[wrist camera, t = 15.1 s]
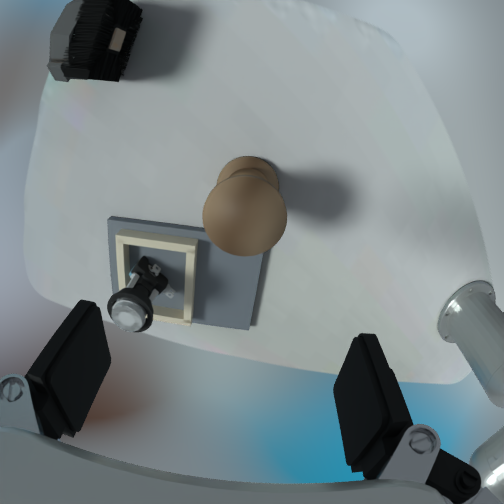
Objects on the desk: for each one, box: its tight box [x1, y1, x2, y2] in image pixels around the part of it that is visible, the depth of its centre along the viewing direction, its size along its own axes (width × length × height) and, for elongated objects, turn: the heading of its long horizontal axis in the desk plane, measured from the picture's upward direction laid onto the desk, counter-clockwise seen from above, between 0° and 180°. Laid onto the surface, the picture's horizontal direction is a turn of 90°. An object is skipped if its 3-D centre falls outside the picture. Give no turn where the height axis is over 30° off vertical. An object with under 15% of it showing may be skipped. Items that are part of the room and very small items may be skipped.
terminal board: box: [107, 216, 263, 330], centre depth 40 cm, size 20×14×3 cm
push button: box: [107, 256, 176, 332], centre depth 35 cm, size 7×5×10 cm
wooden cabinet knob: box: [203, 156, 287, 257], centre depth 31 cm, size 7×7×11 cm
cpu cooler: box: [47, 0, 143, 82], centre depth 23 cm, size 10×6×10 cm, turn 162°
